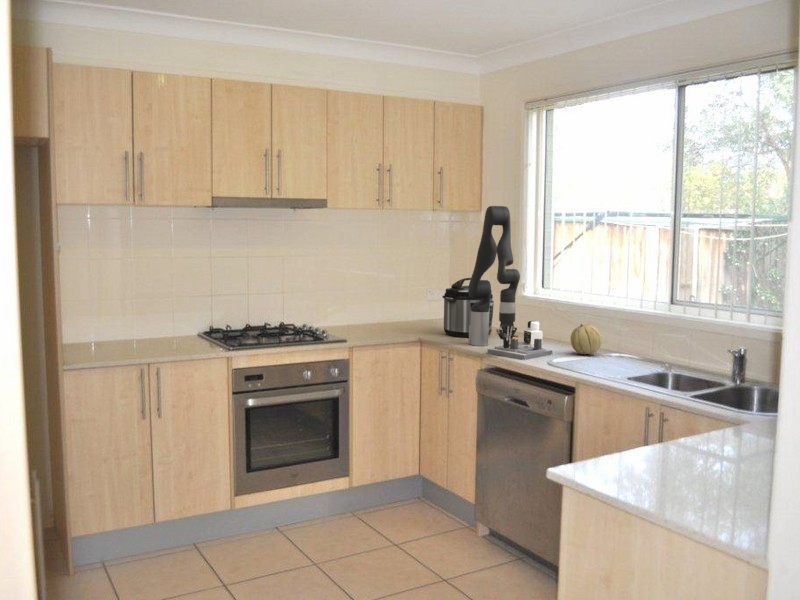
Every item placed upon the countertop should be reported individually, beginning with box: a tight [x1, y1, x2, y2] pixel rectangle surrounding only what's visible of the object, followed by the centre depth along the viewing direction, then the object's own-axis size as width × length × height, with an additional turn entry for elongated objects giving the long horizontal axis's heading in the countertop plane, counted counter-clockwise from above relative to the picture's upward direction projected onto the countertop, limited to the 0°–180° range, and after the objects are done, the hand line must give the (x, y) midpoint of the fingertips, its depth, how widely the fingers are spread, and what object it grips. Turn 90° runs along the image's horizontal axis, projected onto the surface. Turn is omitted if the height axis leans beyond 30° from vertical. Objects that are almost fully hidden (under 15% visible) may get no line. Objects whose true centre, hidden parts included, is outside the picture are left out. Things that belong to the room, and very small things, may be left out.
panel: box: [486, 343, 553, 361], centre depth 362 cm, size 22×22×3 cm
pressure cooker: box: [441, 277, 494, 338], centre depth 419 cm, size 30×28×32 cm
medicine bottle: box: [523, 320, 544, 346], centre depth 392 cm, size 7×7×12 cm
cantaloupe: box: [570, 323, 603, 356], centre depth 363 cm, size 15×15×15 cm
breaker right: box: [533, 338, 543, 351], centre depth 360 cm, size 3×3×6 cm
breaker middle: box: [509, 337, 519, 350], centre depth 359 cm, size 3×3×6 cm
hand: (506, 348), depth 355 cm, fingers closed
